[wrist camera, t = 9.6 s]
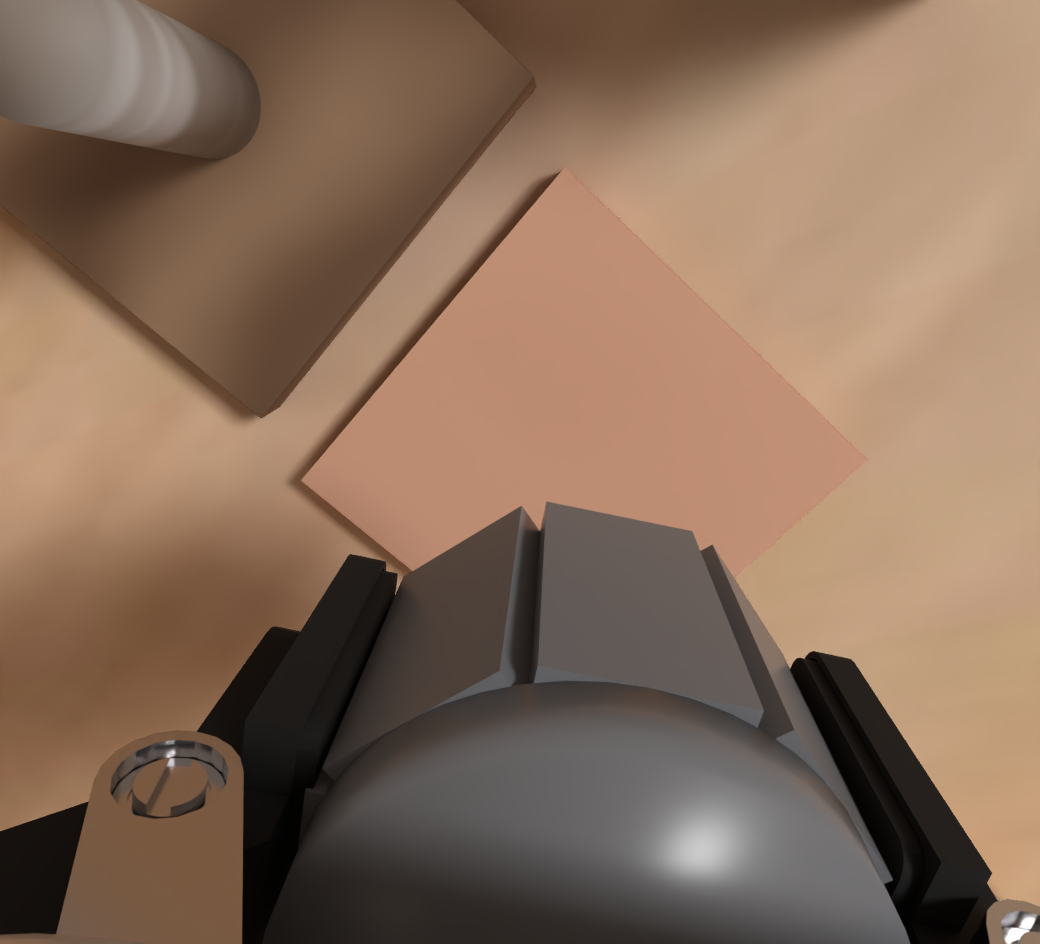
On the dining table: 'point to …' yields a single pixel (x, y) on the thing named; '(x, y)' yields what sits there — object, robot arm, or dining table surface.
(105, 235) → the post base
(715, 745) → the cap
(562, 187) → the tile
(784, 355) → the dining table surface
